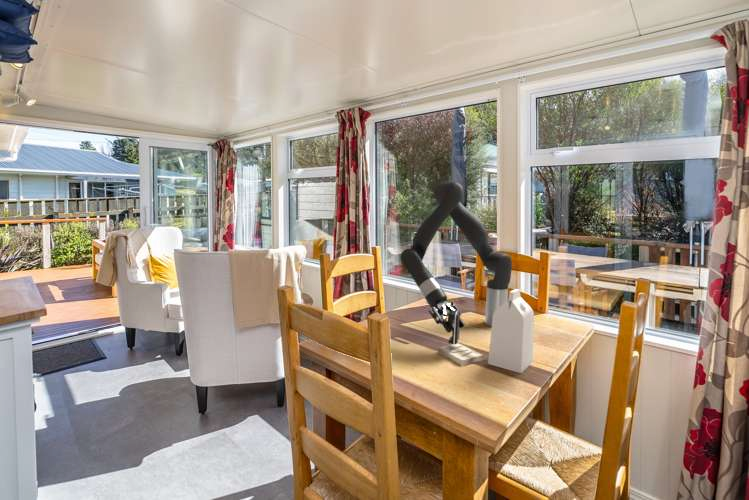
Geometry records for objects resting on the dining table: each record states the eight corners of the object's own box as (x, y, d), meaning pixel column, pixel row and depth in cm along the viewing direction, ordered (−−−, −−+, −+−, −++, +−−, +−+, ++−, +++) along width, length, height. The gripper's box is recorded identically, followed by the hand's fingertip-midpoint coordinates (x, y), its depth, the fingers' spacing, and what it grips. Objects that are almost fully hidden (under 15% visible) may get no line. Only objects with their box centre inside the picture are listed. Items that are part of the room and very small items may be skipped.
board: (458, 348, 150) (458, 342, 150) (483, 360, 139) (483, 354, 138) (438, 352, 145) (438, 347, 145) (462, 365, 134) (462, 360, 134)
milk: (501, 353, 145) (504, 285, 142) (532, 361, 138) (537, 290, 134) (487, 363, 136) (491, 291, 132) (521, 373, 129) (525, 296, 125)
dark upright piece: (448, 337, 149) (450, 308, 147) (458, 339, 147) (460, 309, 146) (445, 343, 142) (447, 313, 141) (456, 345, 141) (457, 314, 139)
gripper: (426, 289, 143) (452, 328, 136) (449, 284, 153) (474, 320, 146) (415, 301, 147) (439, 338, 140) (438, 295, 157) (461, 330, 150)
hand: (456, 329), depth 143 cm, fingers closed on dark upright piece, 7 cm apart
